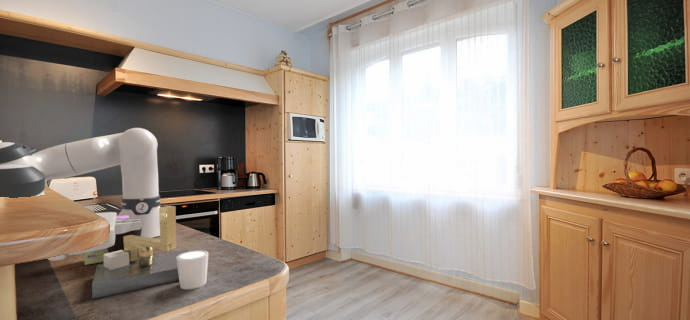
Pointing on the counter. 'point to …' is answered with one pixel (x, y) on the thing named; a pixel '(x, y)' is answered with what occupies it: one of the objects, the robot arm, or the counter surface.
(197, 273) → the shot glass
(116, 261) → the cover
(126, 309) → the counter surface
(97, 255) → the box
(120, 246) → the coffee mug
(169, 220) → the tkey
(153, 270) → the dark grey base plate
